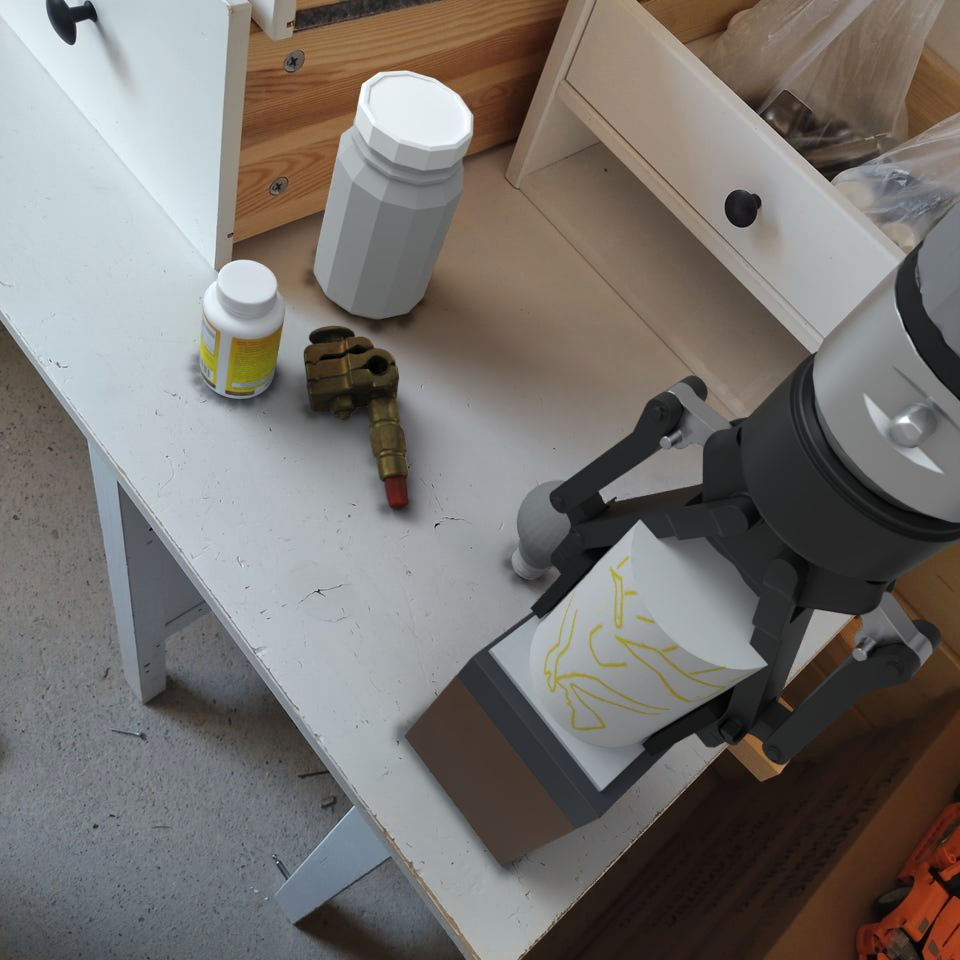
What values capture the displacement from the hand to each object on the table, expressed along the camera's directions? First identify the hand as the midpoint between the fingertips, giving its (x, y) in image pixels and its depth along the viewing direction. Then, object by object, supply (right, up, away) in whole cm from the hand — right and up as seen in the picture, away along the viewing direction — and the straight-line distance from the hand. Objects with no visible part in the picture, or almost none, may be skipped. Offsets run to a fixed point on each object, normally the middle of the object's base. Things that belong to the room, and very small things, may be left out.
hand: (606, 666), depth 47 cm
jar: (-16, +27, +30) cm, 44 cm away
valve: (-16, +13, +22) cm, 31 cm away
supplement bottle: (-25, +18, +22) cm, 38 cm away
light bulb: (-3, +3, +21) cm, 21 cm away
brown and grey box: (-5, -8, +13) cm, 16 cm away
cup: (0, 0, +1) cm, 1 cm away
